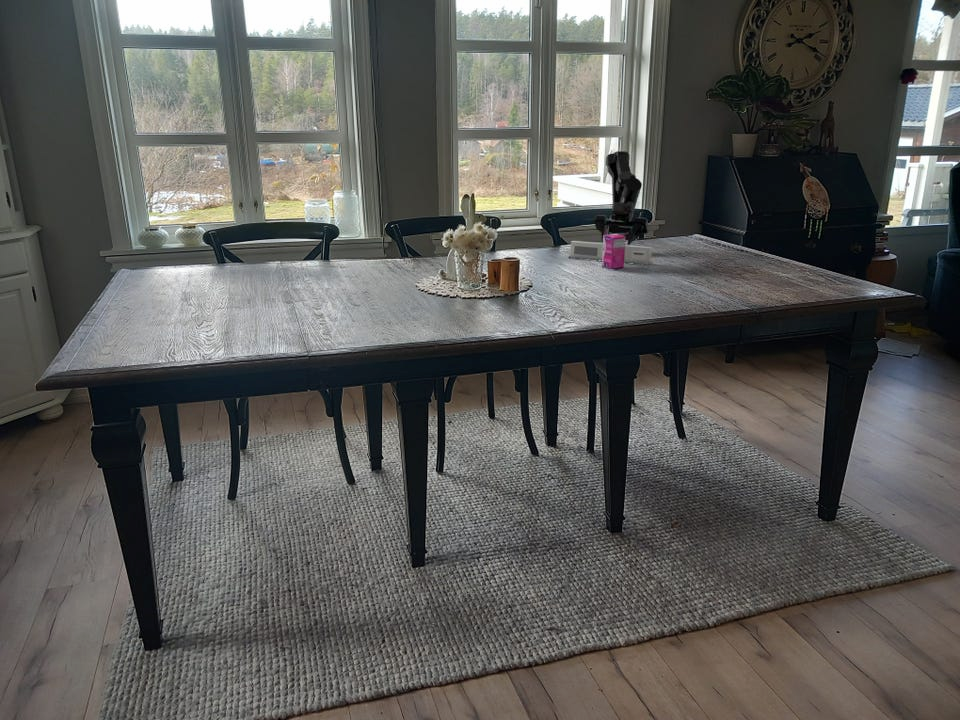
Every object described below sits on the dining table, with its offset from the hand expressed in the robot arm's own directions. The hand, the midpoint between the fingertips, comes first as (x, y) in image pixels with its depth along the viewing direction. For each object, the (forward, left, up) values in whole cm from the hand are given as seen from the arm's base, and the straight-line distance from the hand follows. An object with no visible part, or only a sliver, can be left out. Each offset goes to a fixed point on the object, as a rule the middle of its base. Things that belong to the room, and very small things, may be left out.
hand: (615, 243), depth 251 cm
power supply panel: (-11, -5, -8) cm, 15 cm away
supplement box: (+1, 0, -9) cm, 9 cm away
